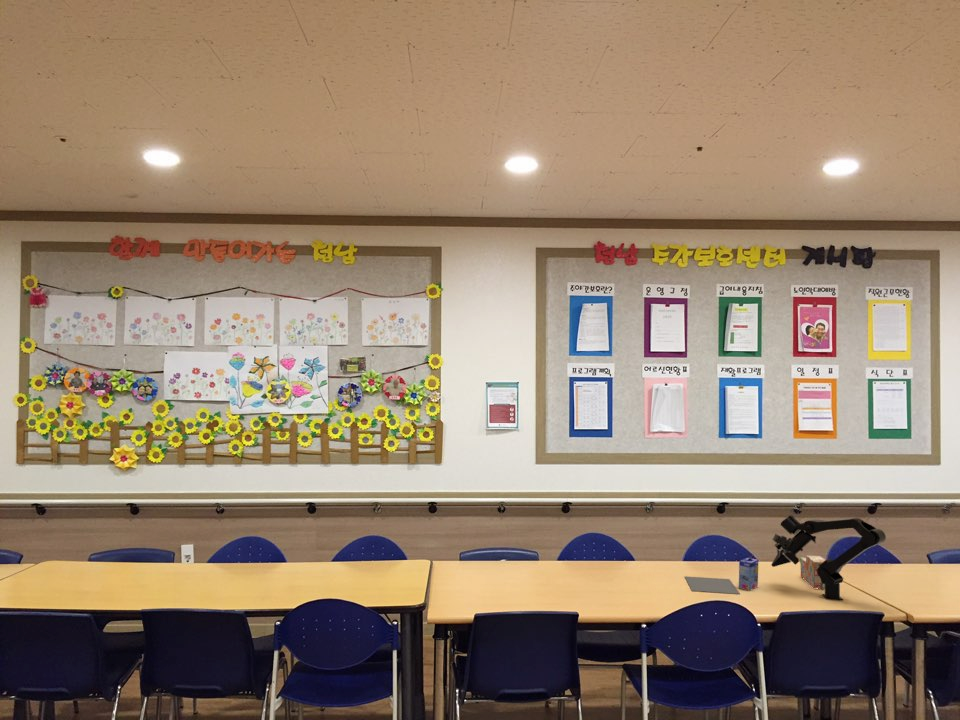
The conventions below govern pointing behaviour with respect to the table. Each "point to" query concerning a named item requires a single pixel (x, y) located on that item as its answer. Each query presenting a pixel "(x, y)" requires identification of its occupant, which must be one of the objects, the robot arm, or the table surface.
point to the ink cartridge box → (748, 573)
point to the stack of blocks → (812, 570)
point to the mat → (711, 585)
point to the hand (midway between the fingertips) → (772, 565)
